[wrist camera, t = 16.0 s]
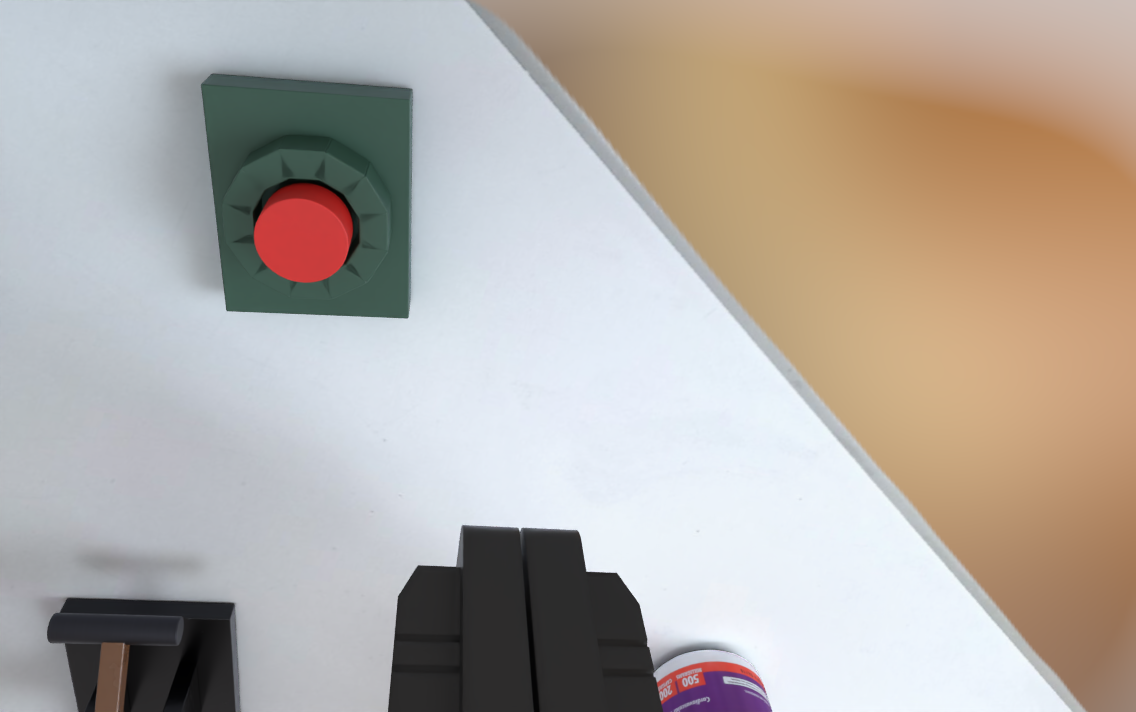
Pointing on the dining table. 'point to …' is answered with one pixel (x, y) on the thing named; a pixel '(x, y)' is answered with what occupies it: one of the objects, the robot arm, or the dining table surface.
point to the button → (304, 232)
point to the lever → (114, 645)
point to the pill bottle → (711, 684)
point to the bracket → (165, 659)
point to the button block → (318, 156)
